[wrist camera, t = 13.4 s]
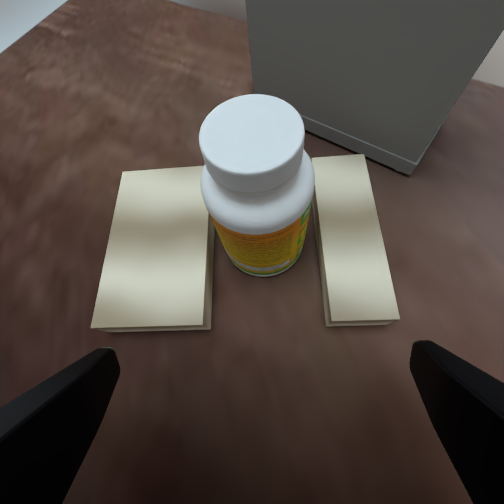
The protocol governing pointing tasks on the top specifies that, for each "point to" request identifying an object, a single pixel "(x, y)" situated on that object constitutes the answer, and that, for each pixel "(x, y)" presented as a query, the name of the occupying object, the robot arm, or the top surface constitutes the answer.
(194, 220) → the notched board
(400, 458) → the top surface
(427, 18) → the cassette tape recorder
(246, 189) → the supplement bottle
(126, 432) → the top surface
